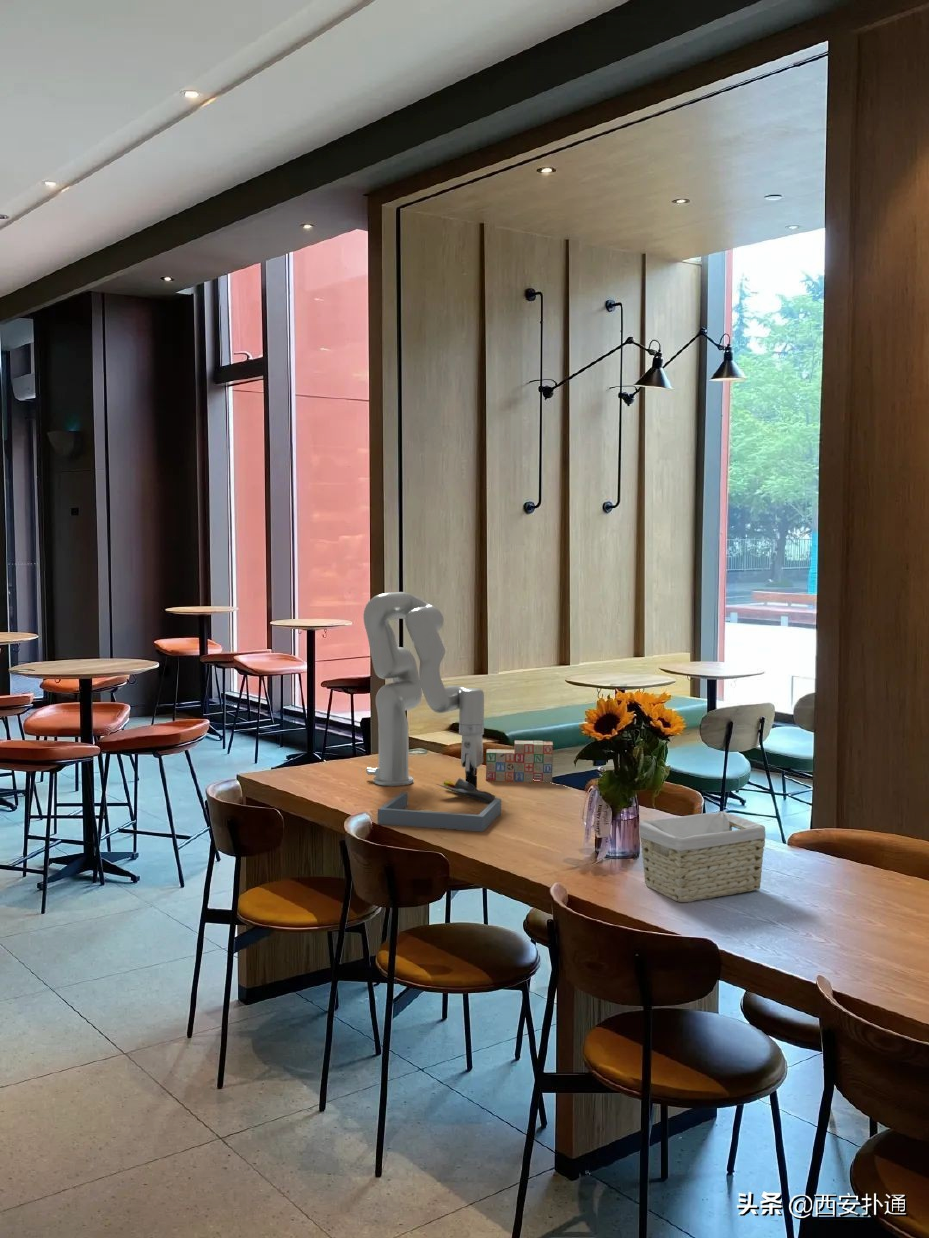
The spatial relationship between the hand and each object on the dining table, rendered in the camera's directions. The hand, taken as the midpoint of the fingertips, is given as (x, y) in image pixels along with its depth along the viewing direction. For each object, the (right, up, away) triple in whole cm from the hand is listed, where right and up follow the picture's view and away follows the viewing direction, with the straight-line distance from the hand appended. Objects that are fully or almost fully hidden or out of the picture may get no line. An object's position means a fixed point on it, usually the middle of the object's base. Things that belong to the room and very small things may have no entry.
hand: (471, 788), depth 335 cm
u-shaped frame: (-9, -3, -32) cm, 34 cm away
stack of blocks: (+16, 0, +19) cm, 24 cm away
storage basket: (+50, -8, -93) cm, 106 cm away
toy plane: (-1, -2, -6) cm, 7 cm away
